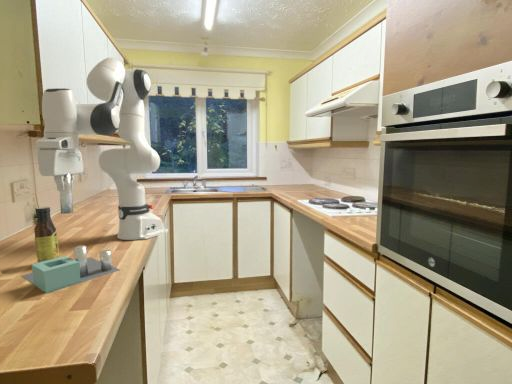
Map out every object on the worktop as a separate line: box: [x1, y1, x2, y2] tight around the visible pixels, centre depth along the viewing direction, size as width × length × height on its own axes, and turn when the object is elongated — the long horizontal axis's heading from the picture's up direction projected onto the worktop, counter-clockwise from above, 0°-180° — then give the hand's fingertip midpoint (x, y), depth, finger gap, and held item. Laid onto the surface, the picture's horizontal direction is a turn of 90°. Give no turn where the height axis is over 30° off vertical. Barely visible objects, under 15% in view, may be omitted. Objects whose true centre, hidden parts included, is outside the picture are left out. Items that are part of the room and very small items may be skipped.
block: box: [31, 255, 81, 294], centre depth 92 cm, size 9×9×6 cm
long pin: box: [59, 174, 74, 215], centre depth 97 cm, size 3×3×14 cm
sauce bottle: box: [33, 206, 60, 263], centre depth 108 cm, size 7×6×20 cm
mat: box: [21, 257, 121, 294], centre depth 101 cm, size 21×20×1 cm
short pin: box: [99, 249, 113, 271], centre depth 103 cm, size 3×3×6 cm
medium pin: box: [73, 244, 88, 278], centre depth 98 cm, size 3×3×9 cm
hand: (65, 189), depth 97 cm, fingers closed on long pin, 3 cm apart
